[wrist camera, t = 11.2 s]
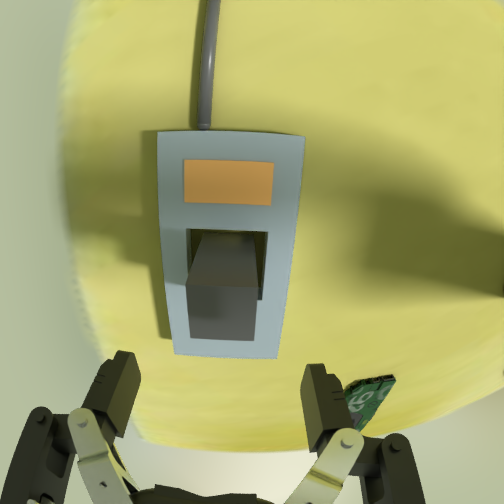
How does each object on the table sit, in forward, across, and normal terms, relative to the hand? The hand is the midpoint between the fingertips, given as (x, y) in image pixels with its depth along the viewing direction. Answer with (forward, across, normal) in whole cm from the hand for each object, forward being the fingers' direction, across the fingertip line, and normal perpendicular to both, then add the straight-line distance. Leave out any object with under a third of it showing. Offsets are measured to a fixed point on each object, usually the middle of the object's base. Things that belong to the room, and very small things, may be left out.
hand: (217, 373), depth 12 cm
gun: (+13, -18, +25) cm, 33 cm away
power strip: (+12, 0, -7) cm, 14 cm away
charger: (+12, 0, 0) cm, 13 cm away
